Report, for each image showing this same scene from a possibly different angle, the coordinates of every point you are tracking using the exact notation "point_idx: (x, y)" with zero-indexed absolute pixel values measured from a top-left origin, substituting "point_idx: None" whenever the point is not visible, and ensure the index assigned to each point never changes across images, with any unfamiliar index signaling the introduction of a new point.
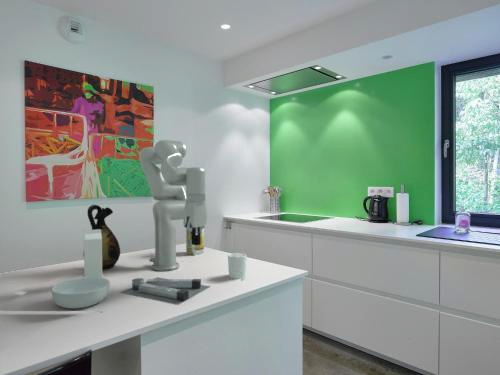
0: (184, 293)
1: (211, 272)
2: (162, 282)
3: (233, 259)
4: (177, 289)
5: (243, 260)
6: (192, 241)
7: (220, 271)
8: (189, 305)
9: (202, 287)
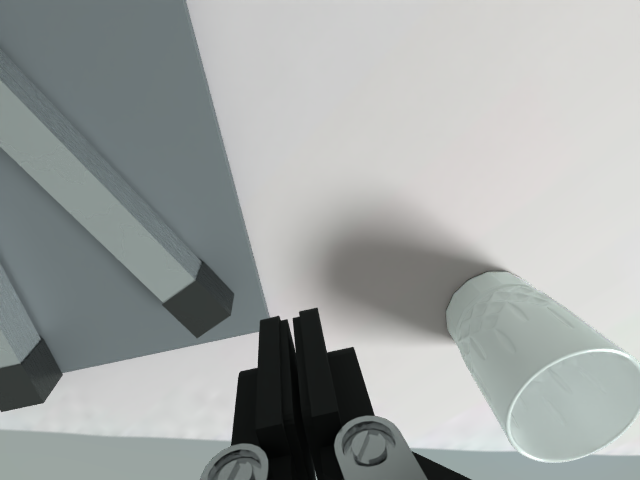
0: (9, 407)
1: (527, 106)
2: (8, 148)
3: (497, 414)
4: (6, 345)
5: (533, 438)
6: (239, 381)
7: (573, 141)
8: None
9: None
